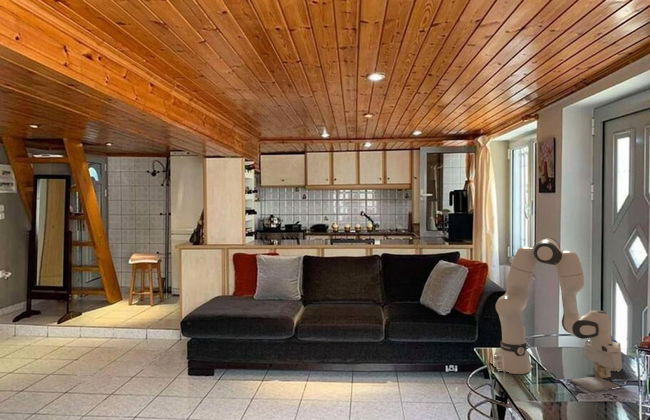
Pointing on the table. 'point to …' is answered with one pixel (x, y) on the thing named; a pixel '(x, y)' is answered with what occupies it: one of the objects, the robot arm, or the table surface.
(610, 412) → the table surface
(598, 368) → the birch block
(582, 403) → the table surface
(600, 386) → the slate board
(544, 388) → the table surface
